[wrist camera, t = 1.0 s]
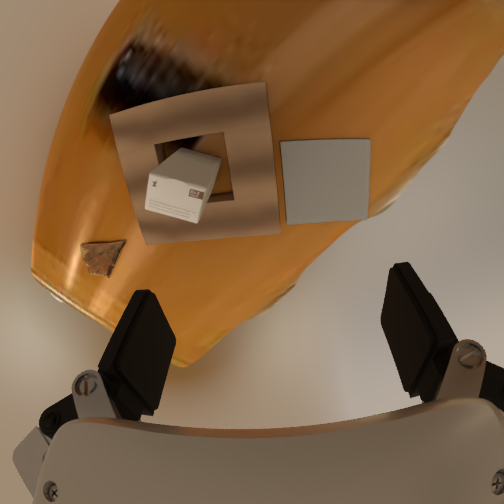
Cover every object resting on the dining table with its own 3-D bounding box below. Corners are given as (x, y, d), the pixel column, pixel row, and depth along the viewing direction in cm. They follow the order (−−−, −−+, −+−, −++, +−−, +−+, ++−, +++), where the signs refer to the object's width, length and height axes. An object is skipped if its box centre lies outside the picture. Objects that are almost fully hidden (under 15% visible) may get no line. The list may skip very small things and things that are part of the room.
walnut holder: (120, 112, 32) (109, 115, 29) (265, 82, 29) (265, 81, 27) (152, 234, 42) (146, 245, 40) (279, 223, 40) (280, 233, 38)
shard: (128, 237, 44) (124, 243, 42) (141, 273, 48) (137, 279, 46) (81, 240, 45) (77, 246, 43) (95, 273, 49) (91, 279, 47)
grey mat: (280, 141, 34) (280, 142, 33) (369, 138, 32) (370, 139, 32) (286, 223, 40) (287, 224, 40) (366, 218, 39) (367, 219, 38)
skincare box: (174, 174, 37) (140, 212, 27) (181, 144, 34) (145, 172, 24) (216, 185, 38) (196, 228, 27) (225, 156, 35) (206, 188, 25)
